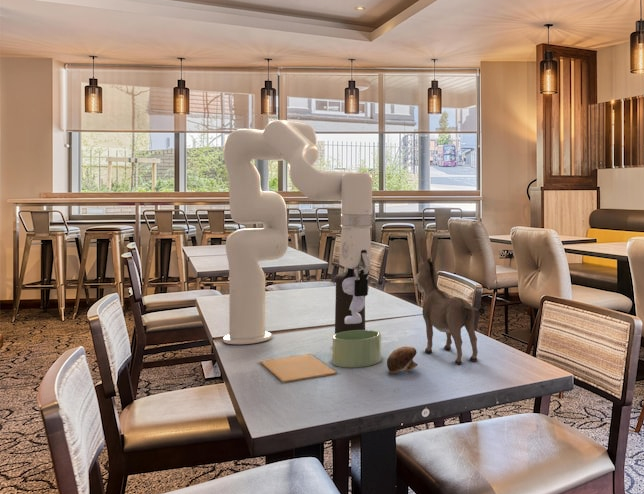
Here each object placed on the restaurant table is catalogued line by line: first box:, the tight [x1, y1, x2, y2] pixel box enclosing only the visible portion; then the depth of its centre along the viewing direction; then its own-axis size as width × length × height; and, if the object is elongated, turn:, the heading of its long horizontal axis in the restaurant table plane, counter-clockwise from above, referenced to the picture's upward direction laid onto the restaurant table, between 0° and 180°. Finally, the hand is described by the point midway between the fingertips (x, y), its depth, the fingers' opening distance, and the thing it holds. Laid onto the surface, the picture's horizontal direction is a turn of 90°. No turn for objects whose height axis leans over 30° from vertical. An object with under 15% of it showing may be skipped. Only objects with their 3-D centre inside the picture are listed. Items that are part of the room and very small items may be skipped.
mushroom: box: [386, 346, 419, 374], centre depth 144 cm, size 8×8×6 cm
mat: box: [260, 353, 337, 384], centre depth 148 cm, size 20×12×1 cm, turn 34°
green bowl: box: [332, 329, 382, 368], centre depth 154 cm, size 12×12×6 cm
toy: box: [414, 235, 486, 365], centre depth 160 cm, size 8×34×30 cm, turn 36°
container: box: [333, 272, 366, 334], centre depth 169 cm, size 9×9×20 cm
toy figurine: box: [342, 277, 370, 324], centre depth 155 cm, size 7×6×12 cm
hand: (355, 293), depth 154 cm, fingers closed on toy figurine, 6 cm apart
